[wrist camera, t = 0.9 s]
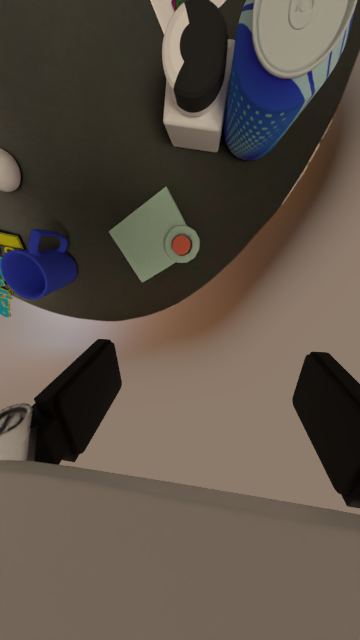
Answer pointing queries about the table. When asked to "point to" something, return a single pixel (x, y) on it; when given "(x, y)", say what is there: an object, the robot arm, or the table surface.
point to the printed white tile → (171, 9)
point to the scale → (154, 236)
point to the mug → (38, 267)
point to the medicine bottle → (196, 75)
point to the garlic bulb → (8, 172)
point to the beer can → (280, 67)
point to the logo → (10, 243)
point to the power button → (181, 245)
